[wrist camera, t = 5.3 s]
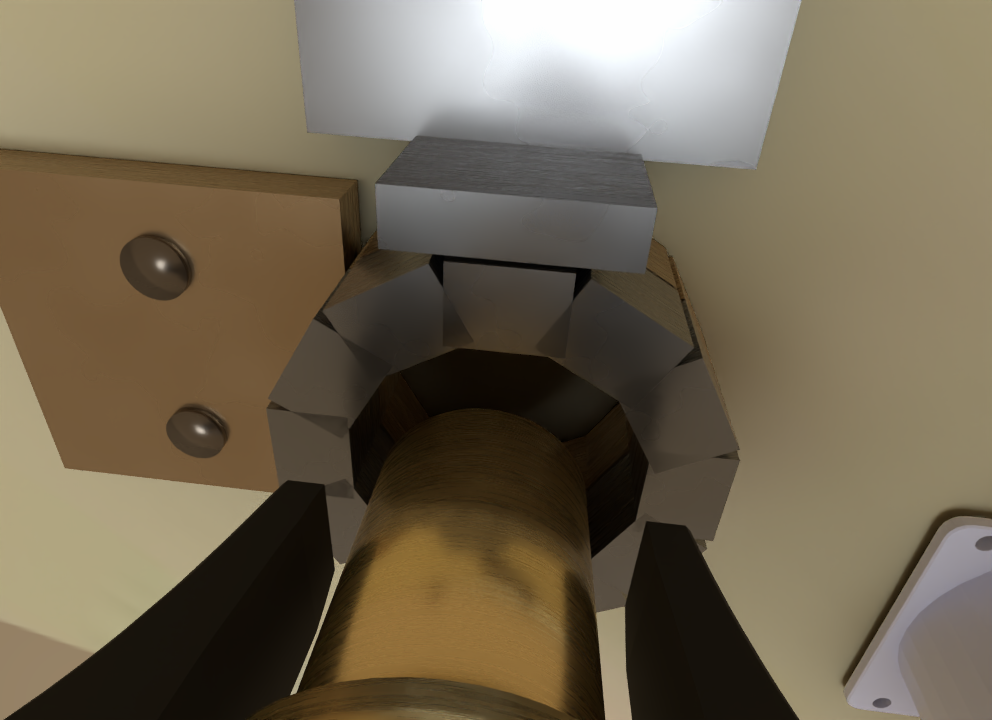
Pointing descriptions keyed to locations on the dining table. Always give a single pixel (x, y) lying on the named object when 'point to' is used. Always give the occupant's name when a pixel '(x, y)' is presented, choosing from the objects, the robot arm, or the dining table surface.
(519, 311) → the dark piece
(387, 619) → the pin
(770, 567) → the dining table surface
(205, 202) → the brown riveted plate
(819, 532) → the dining table surface
